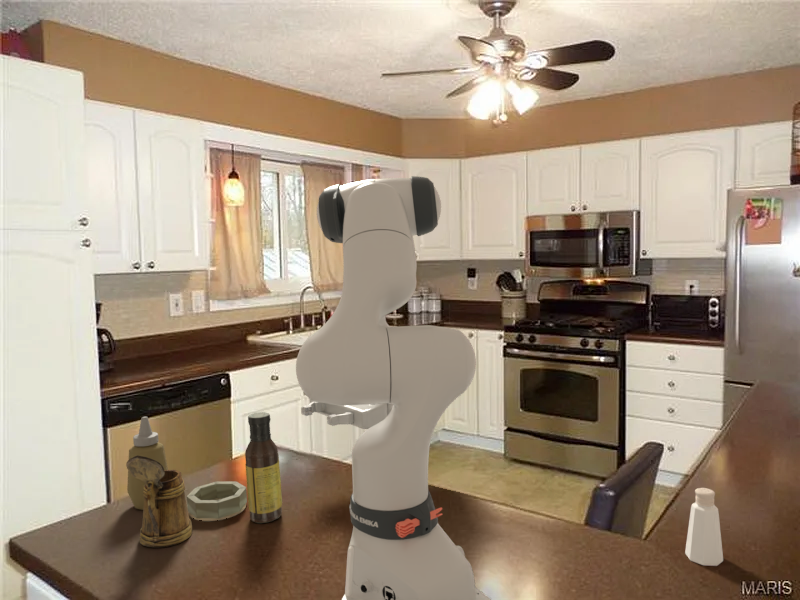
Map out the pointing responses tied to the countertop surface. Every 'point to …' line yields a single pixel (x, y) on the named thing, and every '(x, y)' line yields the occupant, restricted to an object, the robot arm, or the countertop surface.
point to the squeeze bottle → (145, 447)
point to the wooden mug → (161, 504)
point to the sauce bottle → (262, 471)
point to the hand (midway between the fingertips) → (315, 416)
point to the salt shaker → (704, 530)
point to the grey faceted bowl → (217, 501)
